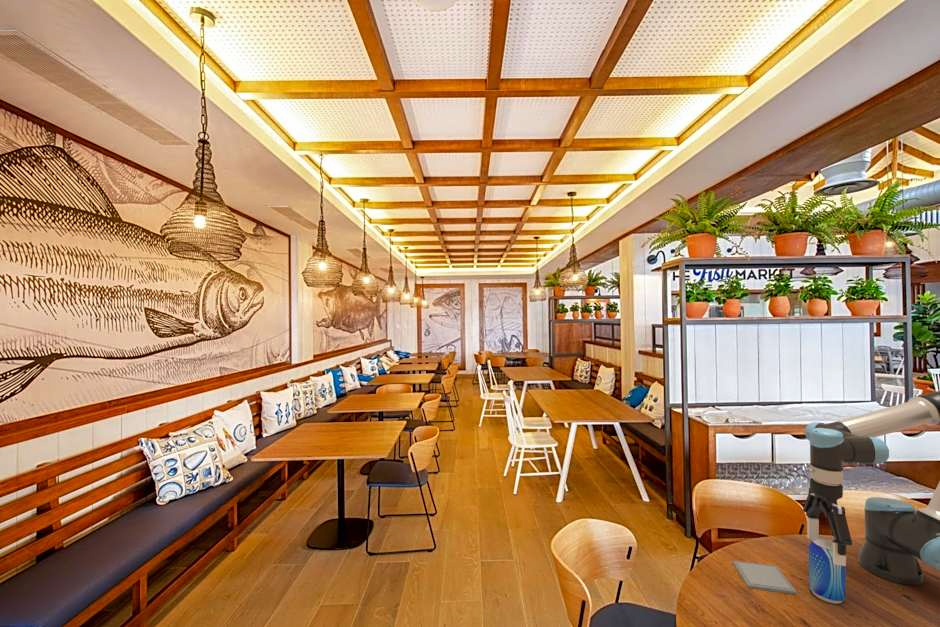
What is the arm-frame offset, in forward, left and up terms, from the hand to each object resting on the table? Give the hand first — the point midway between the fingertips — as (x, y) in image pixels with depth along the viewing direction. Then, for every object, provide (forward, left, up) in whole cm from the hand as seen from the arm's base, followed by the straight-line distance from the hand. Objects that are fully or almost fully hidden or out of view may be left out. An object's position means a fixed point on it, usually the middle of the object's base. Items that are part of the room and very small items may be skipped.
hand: (825, 551), depth 124 cm
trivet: (+15, -5, -14) cm, 21 cm away
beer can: (0, 0, -14) cm, 14 cm away
